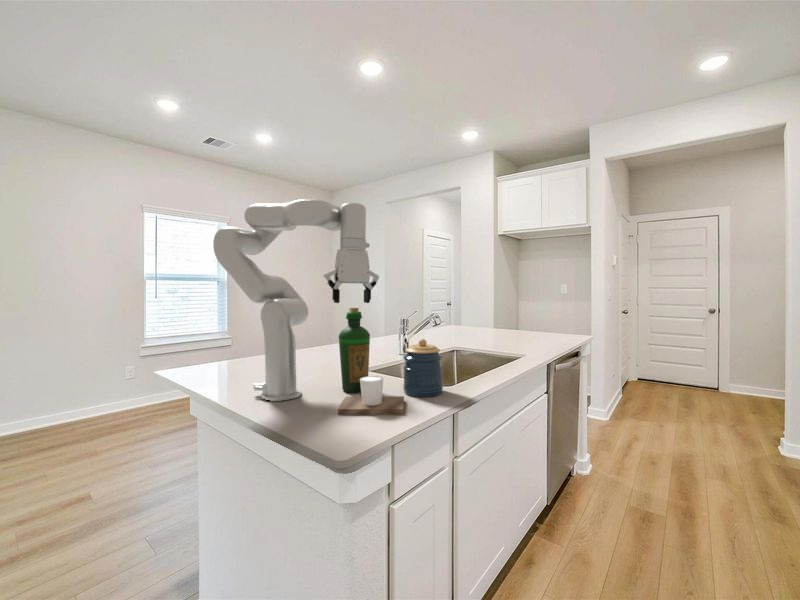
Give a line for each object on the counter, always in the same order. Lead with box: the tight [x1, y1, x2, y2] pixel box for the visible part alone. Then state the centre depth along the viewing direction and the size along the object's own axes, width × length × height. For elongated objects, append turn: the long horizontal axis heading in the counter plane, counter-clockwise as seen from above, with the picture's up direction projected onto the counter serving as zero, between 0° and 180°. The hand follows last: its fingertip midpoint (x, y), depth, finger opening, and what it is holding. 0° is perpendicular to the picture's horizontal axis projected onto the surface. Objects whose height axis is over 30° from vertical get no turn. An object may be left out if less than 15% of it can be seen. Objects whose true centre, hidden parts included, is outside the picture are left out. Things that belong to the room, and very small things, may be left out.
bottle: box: [338, 307, 371, 394], centre depth 126 cm, size 11×11×28 cm
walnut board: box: [336, 395, 405, 416], centre depth 107 cm, size 18×12×2 cm, turn 88°
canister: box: [402, 338, 444, 398], centre depth 122 cm, size 13×13×18 cm
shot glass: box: [360, 375, 384, 405], centre depth 107 cm, size 7×7×7 cm
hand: (351, 302), depth 112 cm, fingers open, 9 cm apart
